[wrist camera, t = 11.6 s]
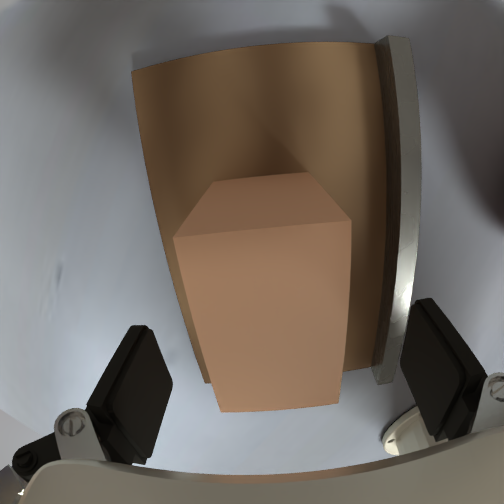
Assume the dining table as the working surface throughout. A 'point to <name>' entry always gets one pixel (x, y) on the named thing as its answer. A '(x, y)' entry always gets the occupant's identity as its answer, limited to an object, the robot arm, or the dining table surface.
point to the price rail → (398, 198)
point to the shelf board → (272, 148)
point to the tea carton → (268, 290)
